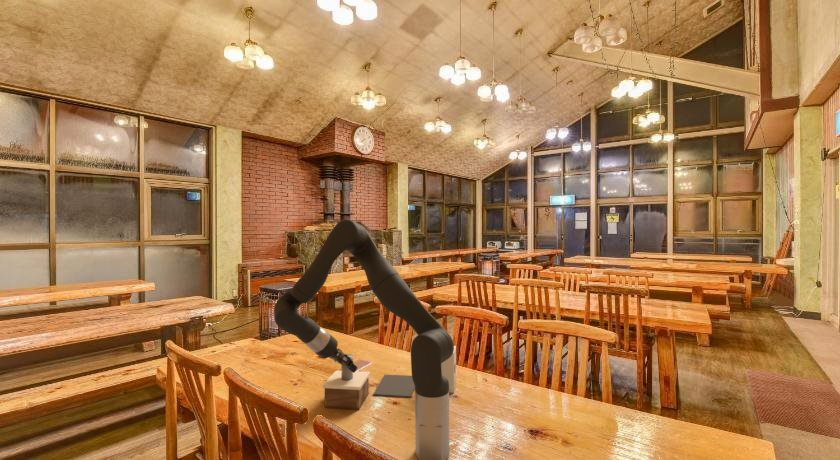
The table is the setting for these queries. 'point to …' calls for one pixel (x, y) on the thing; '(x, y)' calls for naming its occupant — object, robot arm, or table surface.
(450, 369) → the supplement box
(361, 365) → the mobile phone
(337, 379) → the lid
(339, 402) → the walnut box
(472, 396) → the table surface
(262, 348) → the table surface
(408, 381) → the rubber mat
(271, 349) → the table surface
